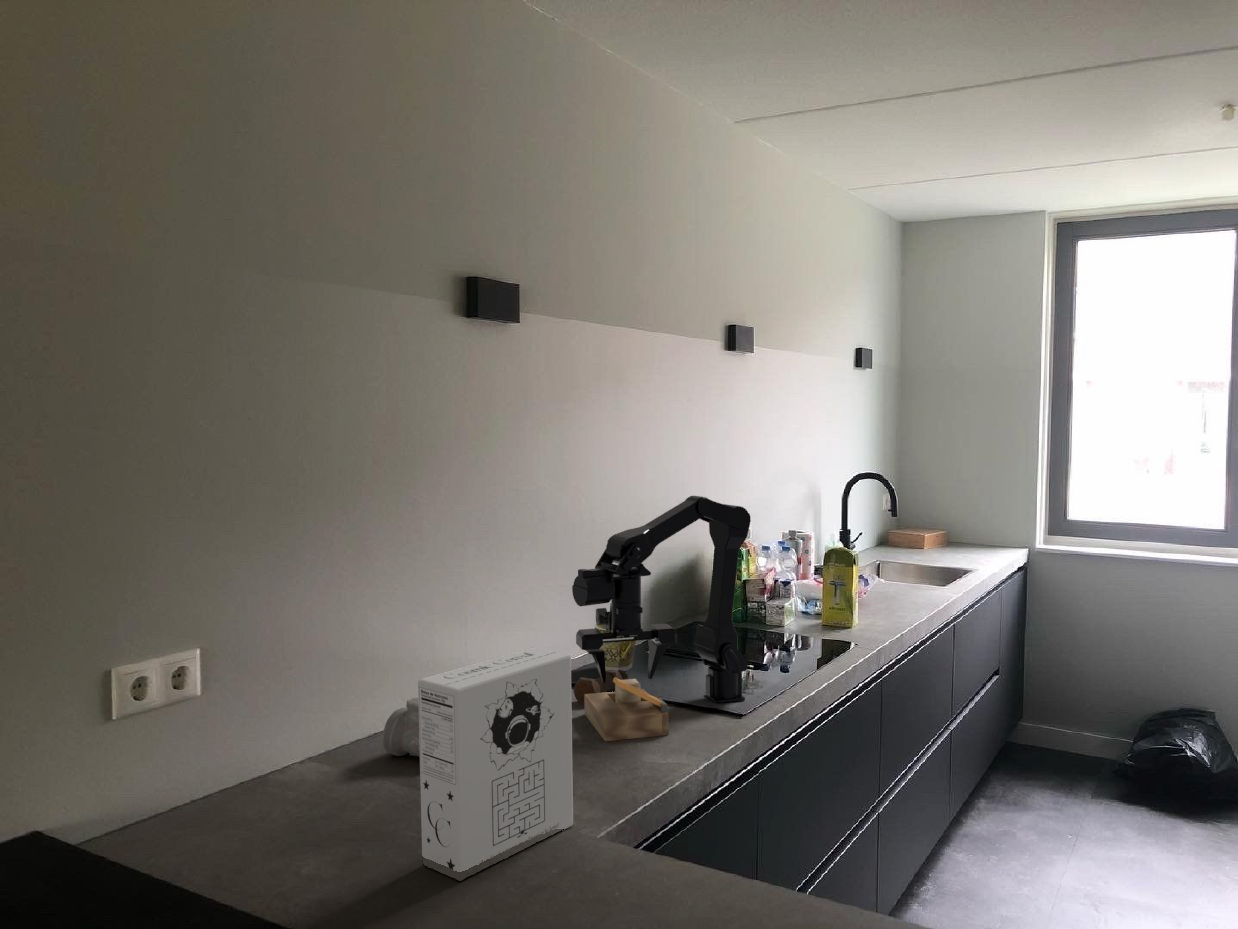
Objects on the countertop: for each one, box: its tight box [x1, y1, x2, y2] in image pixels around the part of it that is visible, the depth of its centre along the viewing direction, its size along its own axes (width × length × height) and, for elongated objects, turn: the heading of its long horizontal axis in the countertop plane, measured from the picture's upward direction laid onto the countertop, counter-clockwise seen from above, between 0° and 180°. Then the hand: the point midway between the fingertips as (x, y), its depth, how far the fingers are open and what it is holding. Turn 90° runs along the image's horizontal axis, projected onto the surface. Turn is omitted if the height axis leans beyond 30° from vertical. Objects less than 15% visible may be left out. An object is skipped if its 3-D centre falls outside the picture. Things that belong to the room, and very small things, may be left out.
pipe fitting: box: [381, 697, 420, 758], centre depth 168 cm, size 12×8×10 cm
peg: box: [615, 678, 642, 704], centre depth 189 cm, size 4×4×7 cm
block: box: [583, 688, 670, 742], centre depth 185 cm, size 12×16×5 cm
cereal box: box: [417, 646, 574, 872], centre depth 134 cm, size 22×8×25 cm, turn 141°
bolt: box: [573, 670, 629, 705], centre depth 204 cm, size 6×5×15 cm
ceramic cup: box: [594, 623, 637, 672], centre depth 223 cm, size 13×10×10 cm
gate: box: [613, 677, 666, 708], centre depth 181 cm, size 11×3×1 cm, turn 106°
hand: (626, 680), depth 188 cm, fingers open, 9 cm apart
